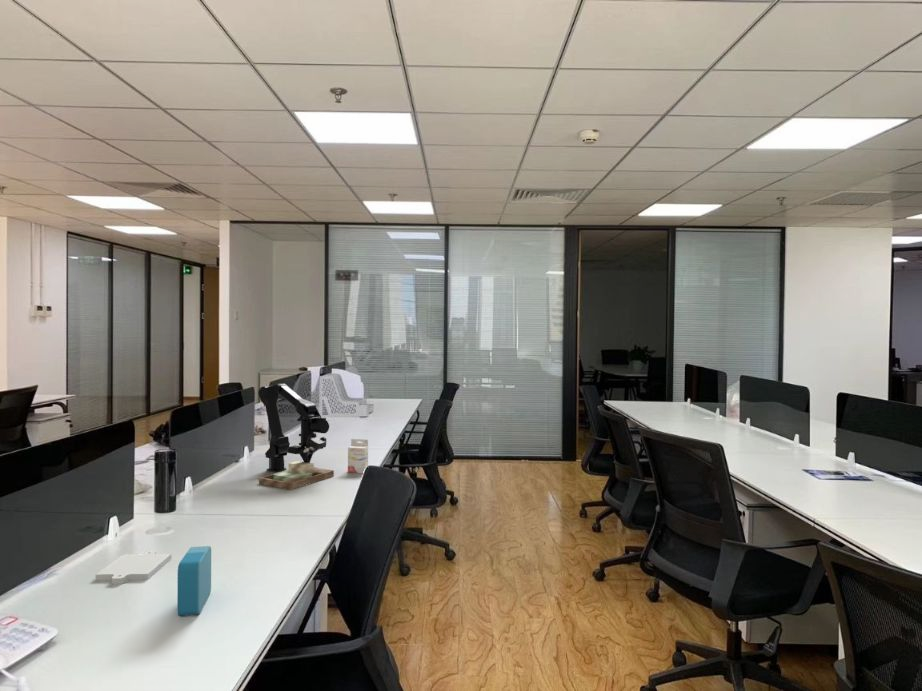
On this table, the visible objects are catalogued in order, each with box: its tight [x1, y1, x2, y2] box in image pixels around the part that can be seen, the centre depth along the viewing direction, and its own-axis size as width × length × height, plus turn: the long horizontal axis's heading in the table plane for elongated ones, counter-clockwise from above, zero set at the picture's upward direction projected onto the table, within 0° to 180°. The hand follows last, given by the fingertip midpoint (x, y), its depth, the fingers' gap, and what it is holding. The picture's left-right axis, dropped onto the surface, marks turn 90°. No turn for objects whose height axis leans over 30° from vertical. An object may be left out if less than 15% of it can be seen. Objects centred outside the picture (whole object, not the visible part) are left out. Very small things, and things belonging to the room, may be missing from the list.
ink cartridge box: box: [347, 438, 369, 474], centre depth 258 cm, size 9×5×15 cm, turn 84°
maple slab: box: [288, 460, 315, 474], centre depth 248 cm, size 10×5×4 cm, turn 63°
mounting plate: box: [95, 550, 172, 585], centre depth 149 cm, size 18×13×2 cm
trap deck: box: [258, 466, 335, 491], centre depth 243 cm, size 18×26×2 cm
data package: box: [176, 545, 212, 617], centre depth 130 cm, size 12×4×12 cm, turn 12°
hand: (307, 466), depth 251 cm, fingers closed
